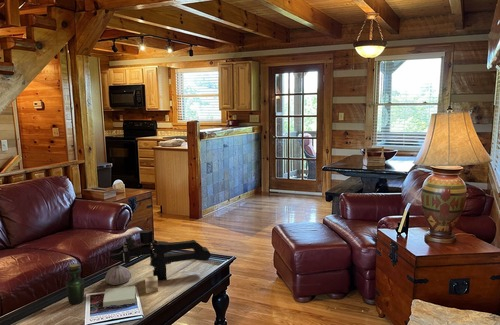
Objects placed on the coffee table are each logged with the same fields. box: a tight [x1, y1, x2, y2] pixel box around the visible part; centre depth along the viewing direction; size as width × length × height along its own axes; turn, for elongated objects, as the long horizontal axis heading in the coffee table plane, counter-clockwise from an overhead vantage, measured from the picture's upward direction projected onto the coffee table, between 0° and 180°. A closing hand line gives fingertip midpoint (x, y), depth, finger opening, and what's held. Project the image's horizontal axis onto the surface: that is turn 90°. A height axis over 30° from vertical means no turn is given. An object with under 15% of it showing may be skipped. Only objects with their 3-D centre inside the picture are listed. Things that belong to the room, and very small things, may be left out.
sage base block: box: [102, 285, 136, 307], centre depth 187 cm, size 14×14×3 cm
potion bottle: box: [65, 263, 85, 305], centre depth 185 cm, size 8×8×18 cm
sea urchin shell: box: [104, 265, 132, 286], centre depth 208 cm, size 13×14×8 cm
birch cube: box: [144, 275, 159, 294], centre depth 198 cm, size 6×6×6 cm
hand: (109, 254), depth 202 cm, fingers open, 9 cm apart
